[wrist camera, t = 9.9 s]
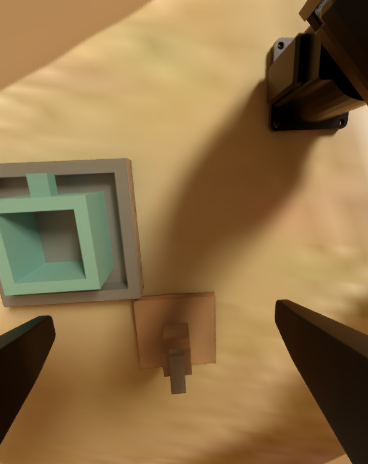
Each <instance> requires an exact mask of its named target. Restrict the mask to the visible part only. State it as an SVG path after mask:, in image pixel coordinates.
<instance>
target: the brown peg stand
mask: <svg viewBox="0 0 368 464" xmlns="http://www.w3.org/2000/svg"><path fill="white" fill-rule="evenodd" d="M133 305H134V314H135V322H136V331H137V340H138V348H139V357H140V366H141V369H144V368H157V367H163V370H164V377H167V376H170V379H171V393H172V394H181V393H186V386H185V375H192V368H191V365H197V364H210V363H216V315H215V294H214V292H204V293H189V294H173V295H158V296H143V297H141V298H137V299H134V300H133Z"/></svg>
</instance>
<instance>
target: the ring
mask: <svg viewBox="0 0 368 464" xmlns="http://www.w3.org/2000/svg"><path fill="white" fill-rule="evenodd" d="M26 178H27V182H28V186H29V191H30V196H16V197H8V198H0V280H1V283H2V287H3V290H4V294H5V296H7V295H22V294H36V293H51V292H65V291H80V290H94V289H101V287H102V286H103V284H104V283H105V281H106V280H107V278H108V277H109V275H110V274H111V272H112V271H113V269H114V261H113V254H112V247H111V240H110V232H109V225H108V218H107V211H106V204H105V197H104V192H86V193H67V194H58V191H57V186H56V181H55V176H54V173H37V174H26ZM69 209H74V213H75V218H76V224H77V230H78V235H79V241H80V246H81V252H82V258H83V261H68V262H52V263H46V262H45V257H44V253H43V248H42V244H41V239H40V235H39V230H38V226H37V221H36V217H35V212H34V211H51V210H69Z"/></svg>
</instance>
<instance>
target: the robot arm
mask: <svg viewBox="0 0 368 464" xmlns="http://www.w3.org/2000/svg"><path fill="white" fill-rule="evenodd" d="M299 15H300V16H301V17H302V19H303V20H304V21H306V20H307V21H308V23H309V24H310V26H309V27H308V29H307V30H306V31H305V32H304V33H299V34H298V35H297V36H296V37H294V38H279V39H278V40H276V42H275V43H274V45H273V47H272V62H271V66H270V67H269V69H268V89H267V103H268V105H269V130H270V131H271V132H291V131H316V130H338V129H342V128H344V127H345V126H346V125H347V122H348V114H349V111H351V110H354V109H356V108H359V107H361V106H364V105H368V0H307V2H306V3H305V5H304V6H303V8H302V9H301V11H300V12H299ZM278 45H280V46H281V47H282V49H281V50H280V49H279V48H278ZM339 120H340V121H341V125H339ZM274 122H275V123H277V128H275V127H274ZM275 323H276V325H277V327H278V330H279V332H280V334H281V336H282V339H283V341H284V343H285V345H286V347H287V350H288V352H289V354H290V356H291V358H292V360H293V362H294V364H295V366H296V367H297V369H298V371H299V373H300V374H301V376H302V378H303V379H304V381H305V383H306V385H307V386H308V388H309V390H310V392H311V393H312V395H313V397H314V398H315V400H316V402H317V404H318V405H319V407H320V409H321V411H322V412H323V414H324V416H325V418H326V419H327V421H328V423H329V424H330V426H331V428H332V430H333V431H334V433H335V435H336V437H337V438H338V440H339V442H340V443H341V445H342V447H343V449H344V450H345V452H346V454H347V455H348V457H349V459H350V461H351V462H352V464H368V335H366V334H364V333H362V332H360V331H357V330H355V329H353V328H351V327H348V326H346V325H344V324H342V323H339V322H337V321H335V320H333V319H330V318H328V317H326V316H324V315H321V314H319V313H317V312H314V311H312V310H310V309H308V308H305V307H303V306H301V305H299V304H296V303H294V302H292V301H290V300H287V299H283V300H277V301H276V305H275ZM55 336H56V333H55V328H54V324H53V319H52V317H51V316H49V315H46V316H38V317H36V318H34V319H32V320H30V321H28V322H26V323H24V324H22V325H20V326H18V327H16V328H14V329H12V330H10V331H8V332H6V333H5V334H3V335H1V336H0V444H1V443H2V441H3V439H4V437H5V435H6V434H7V432H8V430H9V428H10V427H11V425H12V423H13V421H14V419H15V418H16V416H17V414H18V412H19V410H20V409H21V407H22V405H23V403H24V402H25V400H26V398H27V396H28V394H29V393H30V391H31V389H32V387H33V385H34V384H35V382H36V380H37V378H38V376H39V374H40V371H41V369H42V367H43V365H44V362H45V360H46V358H47V356H48V354H49V351H50V349H51V347H52V345H53V342H54V340H55Z"/></svg>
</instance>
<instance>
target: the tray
mask: <svg viewBox="0 0 368 464" xmlns="http://www.w3.org/2000/svg"><path fill="white" fill-rule="evenodd" d="M37 173H54V176H55V181H56V186H57V191H58V194H67V193H86V192H104V197H105V204H106V211H107V218H108V225H109V232H110V240H111V247H112V254H113V261H114V269H113V271H112V272H111V274H110V275H109V277H108V278H107V280H106V281H105V283H104V284H103V286H102V287H101V289H94V290H80V291H65V292H51V293H36V294H22V295H7V296H5V294H4V290H3V287H2V283H1V280H0V294H1V298H2V301H3V305H4V307H14V306H29V305H45V304H60V303H75V302H91V301H106V300H122V299H137V298H141V295H142V292H143V288H144V286H143V276H142V266H141V256H140V246H139V236H138V226H137V216H136V206H135V196H134V186H133V176H132V166H131V160H129V159H126V158H121V159H98V160H74V161H51V162H27V163H4V164H0V198H8V197H16V196H30V191H29V186H28V182H27V178H26V174H37ZM34 212H35V217H36V221H37V226H38V230H39V235H40V239H41V244H42V248H43V253H44V257H45V262H46V263H52V262H68V261H83V258H82V252H81V246H80V241H79V235H78V230H77V224H76V218H75V213H74V209H69V210H51V211H34Z"/></svg>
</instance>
